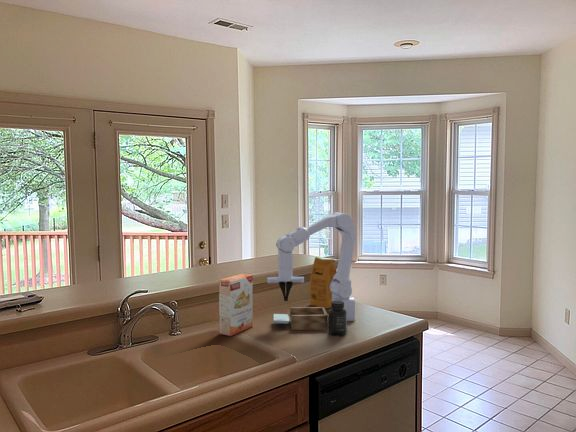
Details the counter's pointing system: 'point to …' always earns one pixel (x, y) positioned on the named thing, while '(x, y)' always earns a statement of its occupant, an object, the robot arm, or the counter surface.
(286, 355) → the counter surface
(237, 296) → the cracker box
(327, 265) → the coffee package
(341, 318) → the supplement bottle
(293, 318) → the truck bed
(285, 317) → the panel
